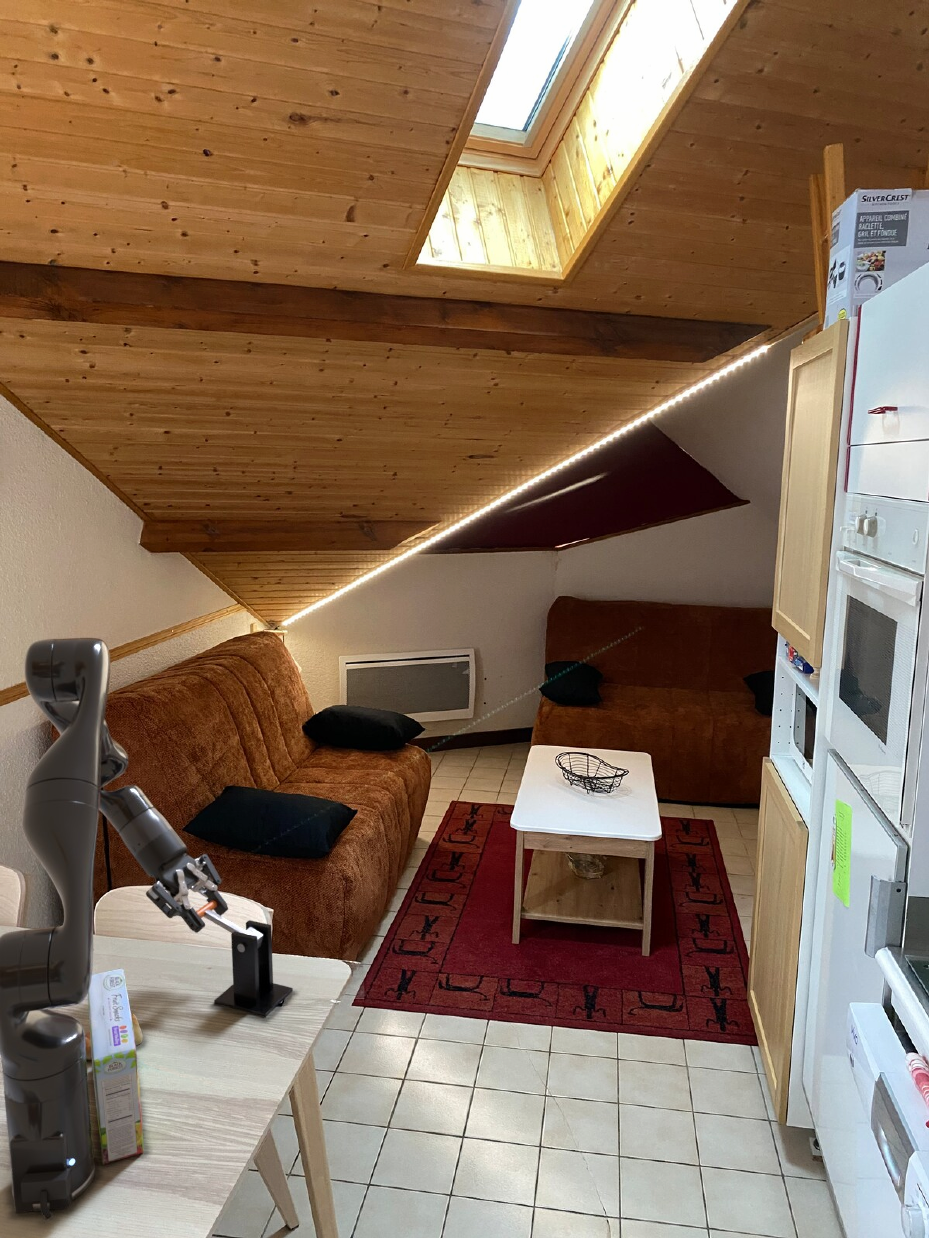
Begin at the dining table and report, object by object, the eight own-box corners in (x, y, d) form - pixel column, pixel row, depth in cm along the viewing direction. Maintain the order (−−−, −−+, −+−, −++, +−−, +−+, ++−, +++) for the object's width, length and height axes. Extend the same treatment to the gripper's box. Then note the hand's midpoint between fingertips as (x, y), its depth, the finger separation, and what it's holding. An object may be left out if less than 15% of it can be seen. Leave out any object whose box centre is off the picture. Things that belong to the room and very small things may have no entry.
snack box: (91, 1068, 134) (85, 973, 131) (132, 1058, 136) (126, 965, 133) (99, 1167, 114) (92, 1059, 112) (146, 1153, 117) (140, 1047, 114)
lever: (187, 922, 150) (191, 910, 149) (208, 907, 155) (211, 896, 154) (247, 957, 146) (250, 945, 146) (266, 941, 151) (269, 929, 151)
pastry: (83, 1070, 133) (81, 1047, 132) (70, 1048, 138) (68, 1025, 138) (146, 1045, 139) (145, 1022, 138) (131, 1025, 144) (130, 1003, 143)
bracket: (214, 1006, 149) (211, 934, 147) (243, 981, 156) (240, 912, 154) (265, 1020, 145) (263, 946, 143) (292, 994, 152) (290, 923, 150)
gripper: (135, 845, 146) (198, 929, 143) (192, 814, 159) (251, 890, 157) (110, 870, 148) (172, 953, 146) (169, 838, 162) (226, 913, 159)
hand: (212, 920), depth 151 cm, fingers closed on lever, 5 cm apart
